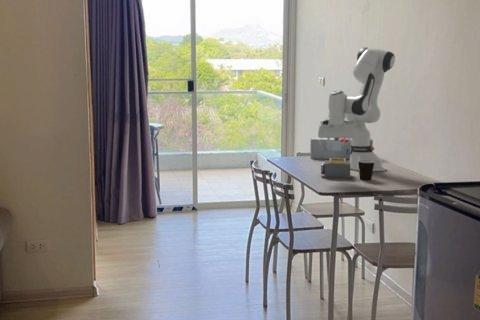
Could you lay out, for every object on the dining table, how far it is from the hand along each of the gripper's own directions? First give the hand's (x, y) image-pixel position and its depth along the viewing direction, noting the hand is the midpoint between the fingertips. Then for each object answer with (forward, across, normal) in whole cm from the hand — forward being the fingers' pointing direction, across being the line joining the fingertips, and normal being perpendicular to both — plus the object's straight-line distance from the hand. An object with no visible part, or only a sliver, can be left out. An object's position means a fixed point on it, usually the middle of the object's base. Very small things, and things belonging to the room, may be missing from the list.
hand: (336, 145), depth 321 cm
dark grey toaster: (+18, 0, -4) cm, 19 cm away
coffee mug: (+19, -16, +1) cm, 25 cm away
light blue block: (+2, 0, 0) cm, 2 cm away
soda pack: (+20, -4, -67) cm, 70 cm away
